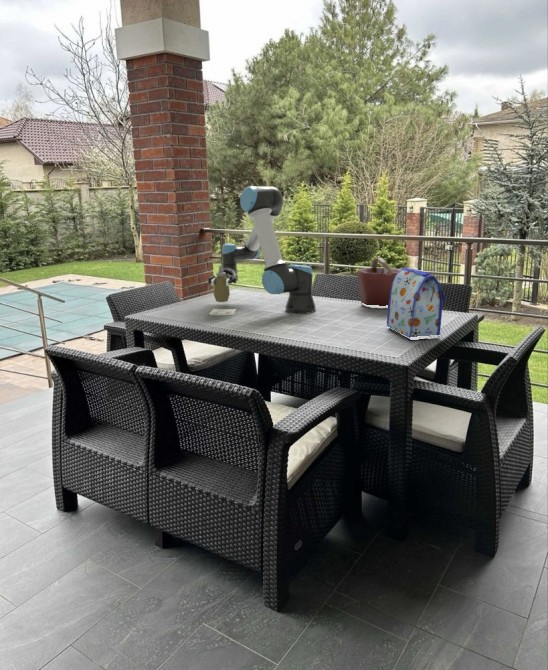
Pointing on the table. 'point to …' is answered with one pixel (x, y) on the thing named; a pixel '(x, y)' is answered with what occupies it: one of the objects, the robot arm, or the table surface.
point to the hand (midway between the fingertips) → (219, 283)
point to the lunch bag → (415, 304)
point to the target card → (222, 312)
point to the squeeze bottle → (221, 286)
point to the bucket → (376, 283)
